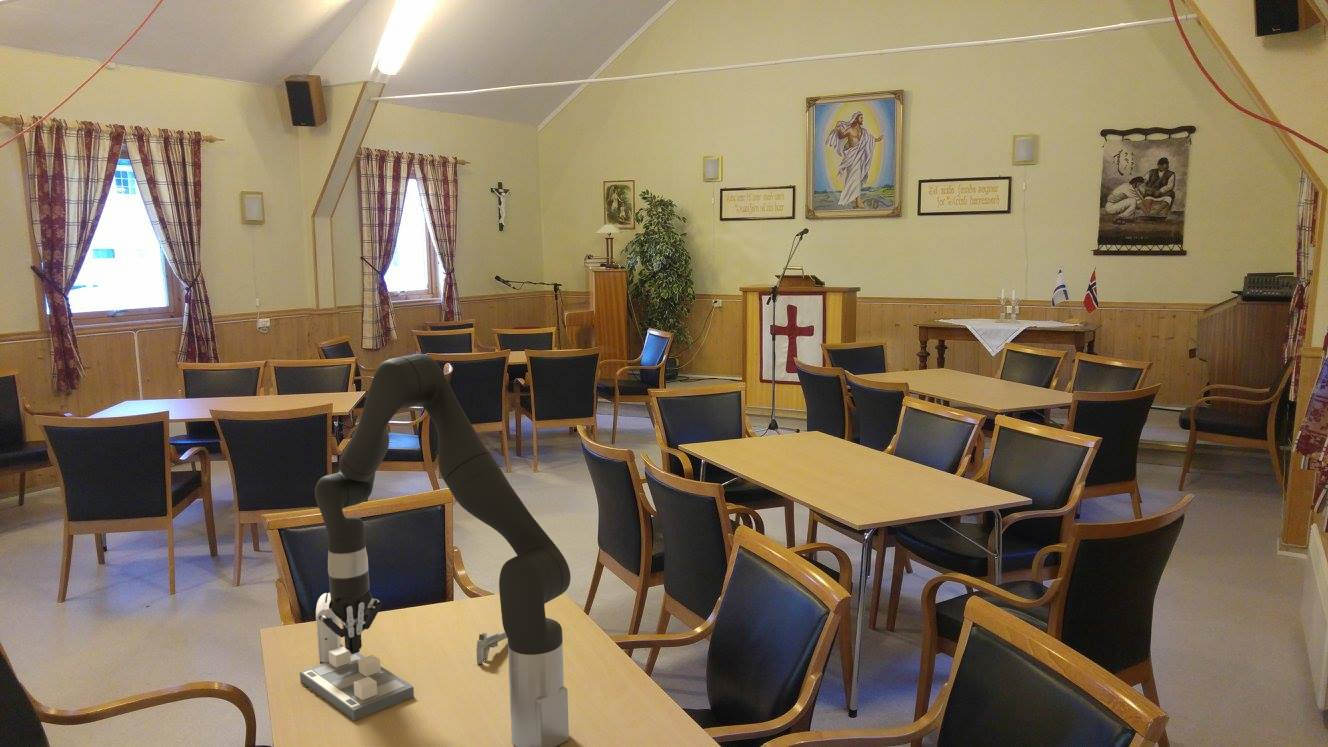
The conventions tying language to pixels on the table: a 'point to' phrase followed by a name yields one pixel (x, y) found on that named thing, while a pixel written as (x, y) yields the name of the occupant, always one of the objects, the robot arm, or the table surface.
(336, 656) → the tab
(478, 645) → the caliper
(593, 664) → the table surface
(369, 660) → the middle tab
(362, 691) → the tab
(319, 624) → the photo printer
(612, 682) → the table surface
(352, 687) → the switch board
